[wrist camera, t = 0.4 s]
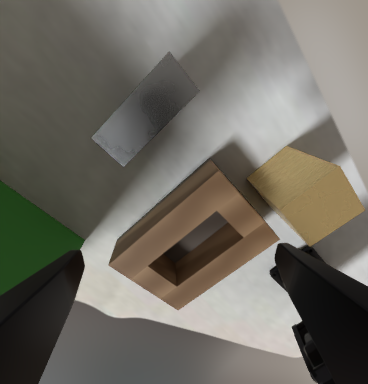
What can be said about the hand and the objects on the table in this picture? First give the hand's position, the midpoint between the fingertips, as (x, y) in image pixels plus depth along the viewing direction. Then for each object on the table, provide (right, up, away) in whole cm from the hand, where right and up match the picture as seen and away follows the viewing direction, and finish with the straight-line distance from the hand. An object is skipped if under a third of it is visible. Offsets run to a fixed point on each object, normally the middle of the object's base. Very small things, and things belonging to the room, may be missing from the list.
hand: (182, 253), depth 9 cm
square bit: (+10, +4, +13) cm, 17 cm away
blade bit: (-3, +10, +9) cm, 14 cm away
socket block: (+1, -1, +14) cm, 15 cm away
